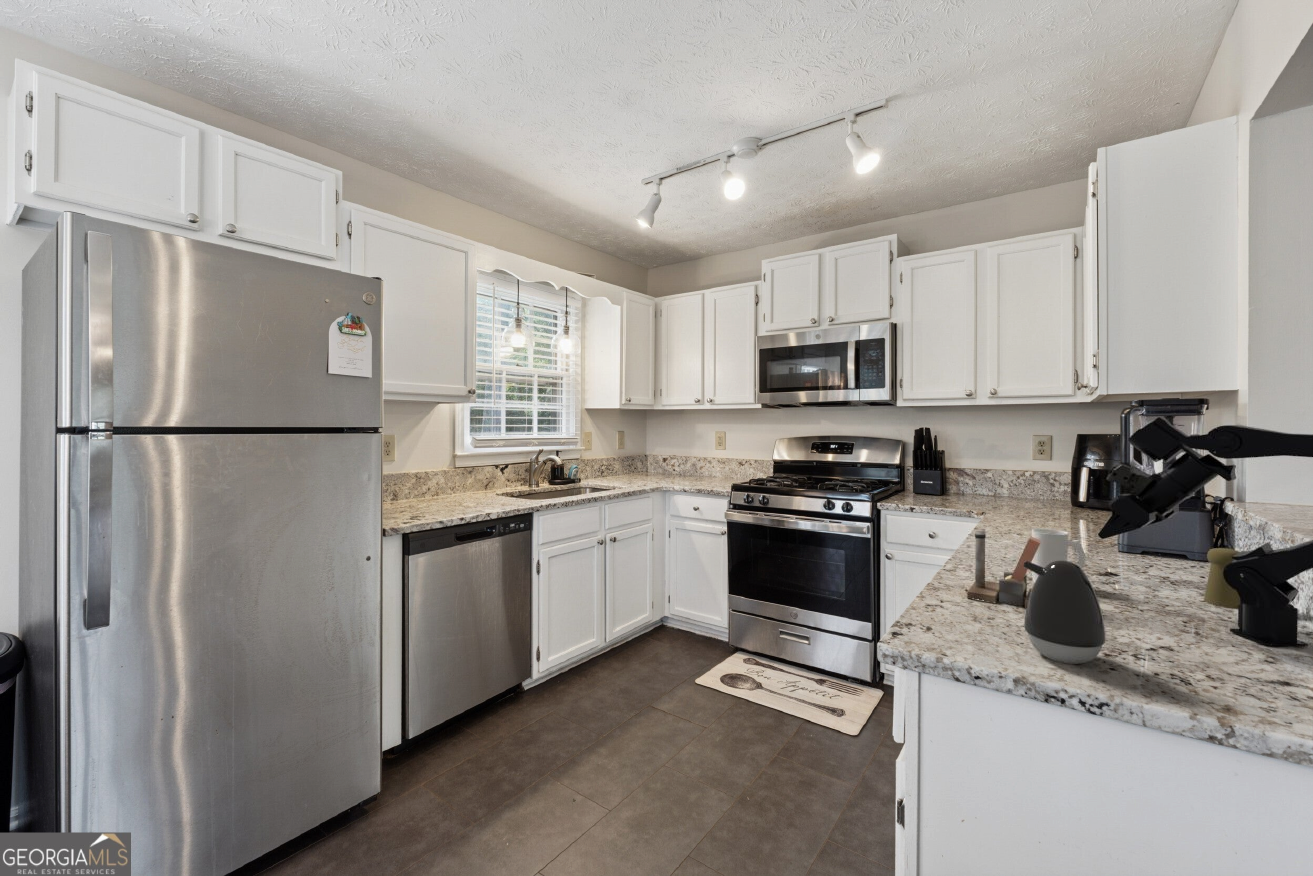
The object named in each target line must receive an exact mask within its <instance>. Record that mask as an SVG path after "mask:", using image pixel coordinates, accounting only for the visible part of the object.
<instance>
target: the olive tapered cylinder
mask: <svg viewBox="0 0 1313 876" xmlns="http://www.w3.org/2000/svg"><path fill="white" fill-rule="evenodd" d="M1239 552H1240V551H1238V550H1235V549H1232V548H1226V547H1218V548H1217V547H1216V548H1214V547H1213V548H1211V549H1209V550H1208V551H1207V554H1206V557H1207V561H1208V562H1209V563H1210V567H1209V573H1208V577H1207V582H1206V588H1205V591H1204V598H1203V602H1204V603H1206V602H1207V603H1206V604H1209V605H1212V604H1214V605H1213V606H1216V607H1222V608H1225V609H1227V608H1229V609H1237V610H1238V605H1239V604H1240V597H1239V595H1238V593H1237V591H1236V590H1235V589H1233V588H1231V587H1230V586H1229V585H1228V584H1227V583H1226V581H1225V579H1224V576H1223V571H1224V568H1225V566H1226V565H1227V564H1229V563H1230V562H1232V561H1234V559H1232V557H1233V556H1234V555H1236V554H1238V553H1239Z"/></svg>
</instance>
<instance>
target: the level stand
mask: <svg viewBox="0 0 1313 876" xmlns="http://www.w3.org/2000/svg"><path fill="white" fill-rule="evenodd" d="M974 531H975V533H974V539H975V542H974V543H975V545H974V546H975V549H974V550H975V551H974V553H975V555H974V556H975V557H974V558H975V559H974V560H975V562H974V565H975V567H974V568H975V569H974V570H975V572H974V573H975V576H974V578H975V580H974V581H975V582H973V583H972V585H971V586H970V588H969V589H968V590H967V598H974V599H979V600H984V601H989V602H988V603H990V602H996V603H997V601H998V602H999V603H1001V602H1004V603H1003V604H1007V603H1010V604H1009V605H1013V604H1016V605H1015V606H1019V607H1023V605H1024V609H1026V608H1027V603H1028V599H1029V596H1030V593H1031V590H1032V588H1033V587H1029V590H1028V589H1027V588H1028V575H1027V574H1026V575H1025V577H1024V579H1023V580H1024V582H1025V585H1026V588H1025V591H1024V593H1023V582H1019V581H1012V580H1005V578H1006V577H1007V576H1010V575H1012V574H1013V572H1009V571H1004V572H1003V578H999V580H998V582H994V581H987V580H986V538H987V537H986V536H987V534H986V531H985V530H980V529H979V530H977V529H976V530H974ZM1024 598H1025V599H1024ZM997 599H998V600H997ZM984 601H983V602H984Z"/></svg>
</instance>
